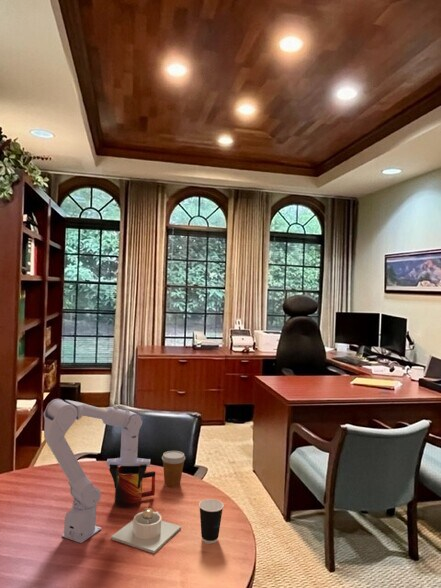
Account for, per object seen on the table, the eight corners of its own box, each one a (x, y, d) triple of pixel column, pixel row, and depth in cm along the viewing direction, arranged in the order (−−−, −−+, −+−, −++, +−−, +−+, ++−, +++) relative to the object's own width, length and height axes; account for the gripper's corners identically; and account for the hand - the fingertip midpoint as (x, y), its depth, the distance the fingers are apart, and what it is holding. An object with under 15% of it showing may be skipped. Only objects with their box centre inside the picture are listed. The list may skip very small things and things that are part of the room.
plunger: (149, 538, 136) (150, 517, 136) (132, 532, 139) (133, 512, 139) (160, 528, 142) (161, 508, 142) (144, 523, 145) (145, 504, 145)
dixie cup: (223, 546, 135) (224, 510, 135) (197, 546, 135) (199, 510, 135) (221, 532, 143) (222, 499, 143) (196, 532, 142) (198, 498, 143)
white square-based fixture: (154, 553, 130) (155, 536, 130) (110, 539, 136) (111, 522, 136) (181, 528, 144) (181, 513, 144) (140, 516, 151) (141, 502, 151)
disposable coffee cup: (157, 481, 180) (159, 451, 180) (179, 477, 184) (180, 449, 184) (164, 490, 172) (166, 460, 172) (187, 487, 176) (188, 457, 176)
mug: (155, 498, 165) (156, 466, 165) (126, 511, 154) (128, 477, 154) (137, 490, 171) (139, 459, 171) (109, 502, 160) (110, 469, 160)
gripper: (151, 443, 155) (149, 481, 155) (109, 443, 153) (107, 481, 153) (150, 450, 148) (148, 490, 148) (106, 450, 146) (104, 490, 146)
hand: (127, 486), depth 150 cm, fingers open, 7 cm apart
